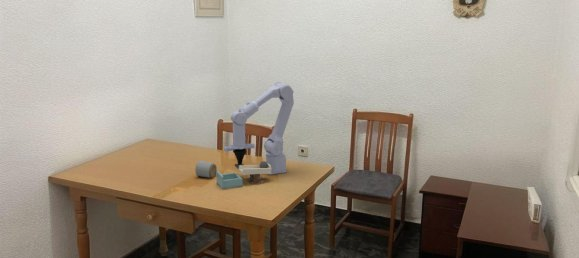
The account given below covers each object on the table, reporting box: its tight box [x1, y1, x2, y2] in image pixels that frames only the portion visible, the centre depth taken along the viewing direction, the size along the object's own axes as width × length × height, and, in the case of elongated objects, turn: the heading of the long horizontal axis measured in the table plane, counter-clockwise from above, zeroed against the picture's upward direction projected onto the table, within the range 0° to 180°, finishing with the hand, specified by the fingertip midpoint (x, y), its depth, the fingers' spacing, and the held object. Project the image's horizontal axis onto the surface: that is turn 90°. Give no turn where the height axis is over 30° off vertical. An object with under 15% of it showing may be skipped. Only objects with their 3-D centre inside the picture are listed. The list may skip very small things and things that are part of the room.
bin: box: [216, 170, 244, 190], centre depth 227 cm, size 10×9×6 cm
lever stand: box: [245, 174, 265, 185], centre depth 233 cm, size 6×8×4 cm
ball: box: [258, 160, 268, 168], centre depth 233 cm, size 4×4×4 cm
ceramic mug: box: [194, 159, 218, 178], centre depth 240 cm, size 11×8×8 cm
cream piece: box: [234, 163, 272, 176], centre depth 235 cm, size 14×14×4 cm
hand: (239, 164), depth 237 cm, fingers closed
